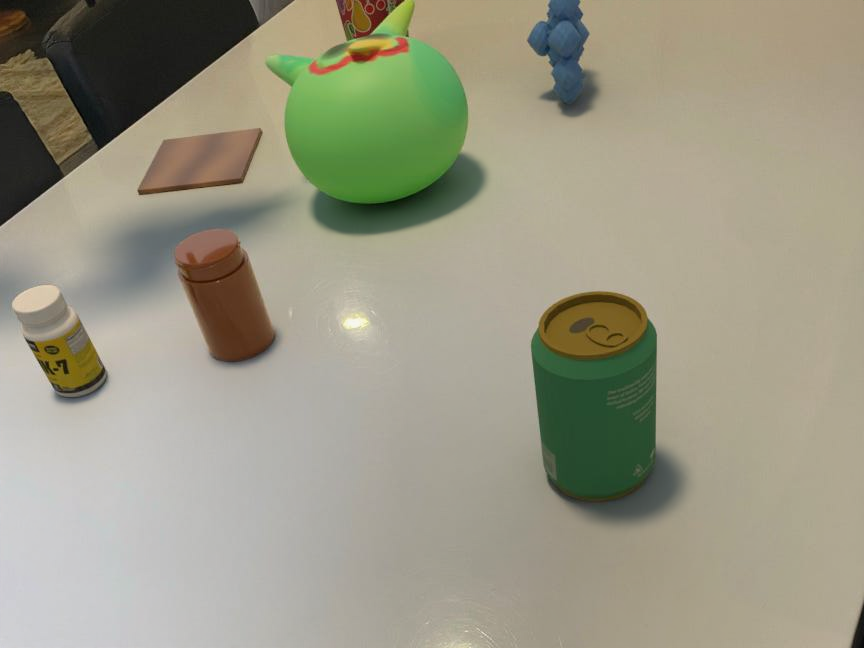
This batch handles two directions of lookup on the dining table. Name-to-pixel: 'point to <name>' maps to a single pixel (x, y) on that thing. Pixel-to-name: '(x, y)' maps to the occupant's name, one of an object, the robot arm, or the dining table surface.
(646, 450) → the beverage can
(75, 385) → the supplement bottle
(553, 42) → the grapes
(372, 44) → the toy bird
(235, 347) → the jar
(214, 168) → the coaster
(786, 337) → the dining table surface
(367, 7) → the smoothie
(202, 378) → the dining table surface
